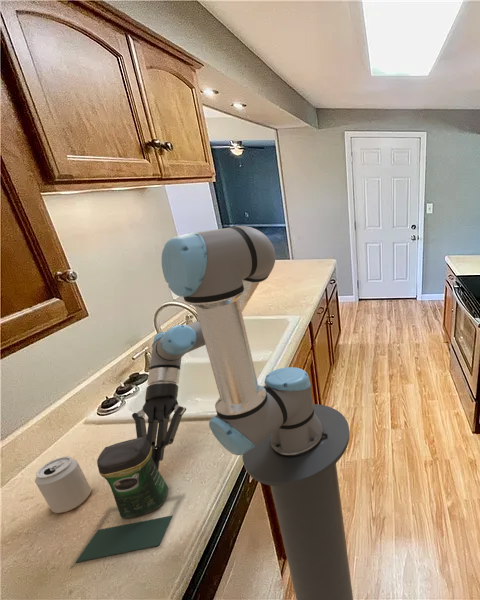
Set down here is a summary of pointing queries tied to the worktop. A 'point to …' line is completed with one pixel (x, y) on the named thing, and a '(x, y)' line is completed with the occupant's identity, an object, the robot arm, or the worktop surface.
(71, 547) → the worktop surface
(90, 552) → the mat
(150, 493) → the coffee jar
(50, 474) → the can
